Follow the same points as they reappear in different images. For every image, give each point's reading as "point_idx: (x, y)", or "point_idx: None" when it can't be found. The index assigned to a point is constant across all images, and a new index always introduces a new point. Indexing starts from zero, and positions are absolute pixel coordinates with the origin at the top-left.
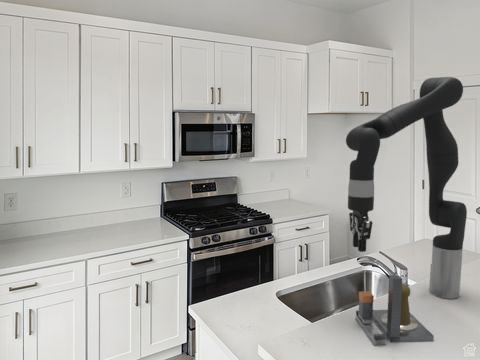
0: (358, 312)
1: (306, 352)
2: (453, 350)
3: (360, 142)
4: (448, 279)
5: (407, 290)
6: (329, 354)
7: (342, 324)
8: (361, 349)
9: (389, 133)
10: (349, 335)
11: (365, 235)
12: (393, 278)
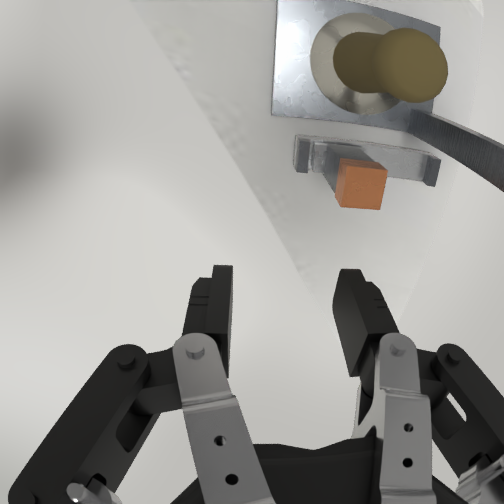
0: (313, 171)
1: (397, 306)
2: (468, 19)
3: None
4: None
5: (446, 61)
6: (417, 273)
7: (317, 210)
8: (426, 211)
9: None
10: (371, 213)
11: (447, 393)
12: None
